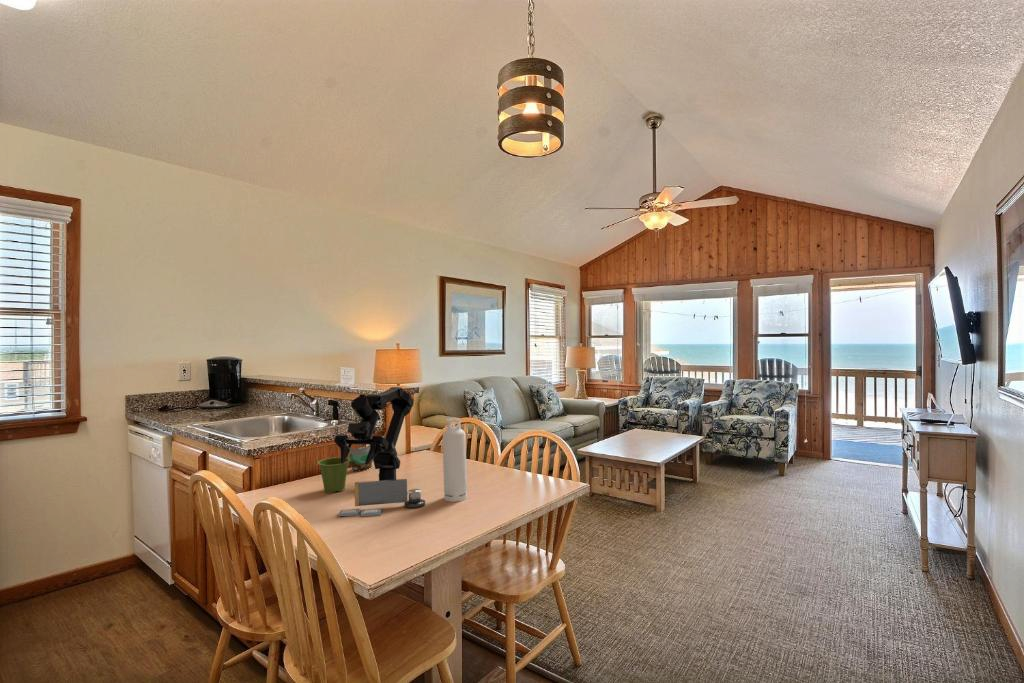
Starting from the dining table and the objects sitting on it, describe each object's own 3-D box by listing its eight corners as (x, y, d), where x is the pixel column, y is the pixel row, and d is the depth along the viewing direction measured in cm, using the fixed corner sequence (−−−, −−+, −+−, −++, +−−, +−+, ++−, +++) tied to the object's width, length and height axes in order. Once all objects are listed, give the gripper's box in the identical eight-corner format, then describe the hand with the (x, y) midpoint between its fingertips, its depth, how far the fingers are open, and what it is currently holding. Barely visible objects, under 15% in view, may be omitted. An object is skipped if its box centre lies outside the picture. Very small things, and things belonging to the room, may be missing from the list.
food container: (358, 473, 213) (357, 450, 213) (348, 471, 217) (348, 448, 217) (380, 467, 224) (379, 444, 224) (371, 465, 227) (370, 443, 227)
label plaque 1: (340, 513, 164) (340, 509, 164) (359, 511, 165) (359, 508, 165) (338, 517, 160) (338, 513, 160) (358, 515, 161) (357, 512, 161)
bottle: (444, 502, 172) (442, 421, 172) (443, 495, 180) (442, 418, 180) (467, 500, 174) (465, 420, 174) (466, 493, 182) (464, 417, 182)
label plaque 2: (362, 512, 164) (362, 509, 164) (381, 511, 165) (381, 507, 165) (361, 516, 160) (360, 513, 160) (380, 515, 161) (380, 511, 161)
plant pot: (313, 495, 184) (312, 465, 184) (324, 486, 196) (324, 457, 196) (345, 494, 184) (344, 464, 184) (355, 485, 196) (354, 456, 196)
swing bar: (420, 499, 173) (420, 476, 173) (420, 502, 169) (420, 480, 169) (356, 504, 169) (355, 481, 169) (354, 507, 165) (354, 484, 165)
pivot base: (413, 500, 175) (413, 497, 175) (429, 503, 172) (429, 500, 172) (400, 506, 169) (400, 503, 169) (416, 509, 166) (416, 506, 166)
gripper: (334, 412, 178) (318, 452, 168) (382, 413, 174) (369, 453, 164) (347, 428, 186) (333, 467, 176) (394, 429, 182) (382, 468, 172)
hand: (353, 464), depth 172 cm, fingers open, 9 cm apart
